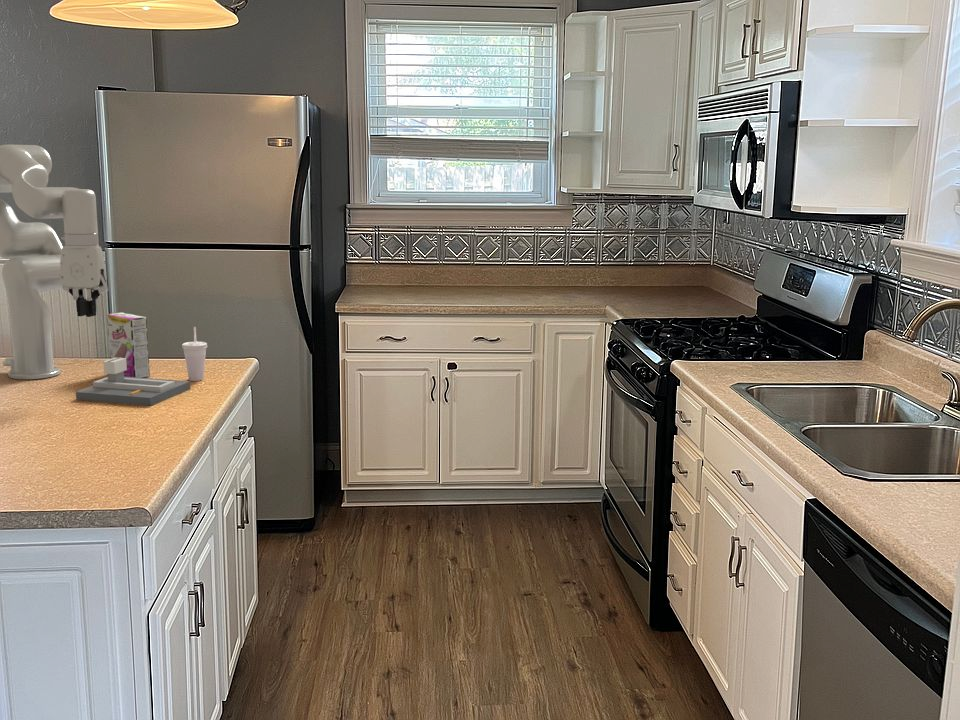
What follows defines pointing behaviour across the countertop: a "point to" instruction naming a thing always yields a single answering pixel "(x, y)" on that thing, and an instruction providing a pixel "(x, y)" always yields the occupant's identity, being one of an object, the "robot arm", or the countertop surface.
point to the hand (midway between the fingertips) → (86, 315)
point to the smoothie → (195, 358)
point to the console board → (133, 391)
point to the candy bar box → (129, 342)
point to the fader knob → (115, 369)
